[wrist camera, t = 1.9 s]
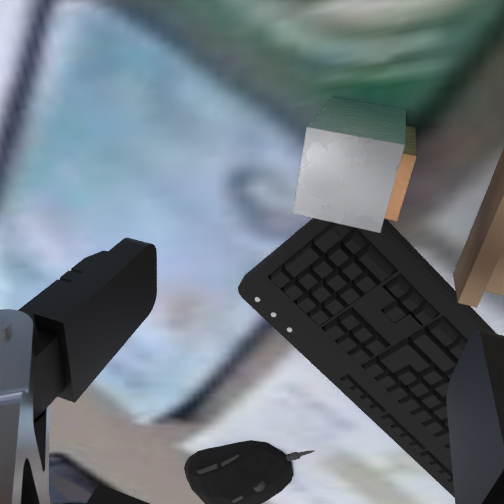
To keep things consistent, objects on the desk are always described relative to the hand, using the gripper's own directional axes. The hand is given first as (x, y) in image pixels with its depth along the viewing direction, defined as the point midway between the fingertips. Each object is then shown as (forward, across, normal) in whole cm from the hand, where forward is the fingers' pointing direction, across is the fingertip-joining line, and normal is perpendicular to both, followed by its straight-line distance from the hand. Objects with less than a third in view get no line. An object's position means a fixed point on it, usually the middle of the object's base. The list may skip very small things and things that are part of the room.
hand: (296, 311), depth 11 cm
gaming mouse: (+17, +3, +32) cm, 36 cm away
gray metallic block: (+17, 0, 0) cm, 17 cm away
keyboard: (+18, -9, +16) cm, 25 cm away
